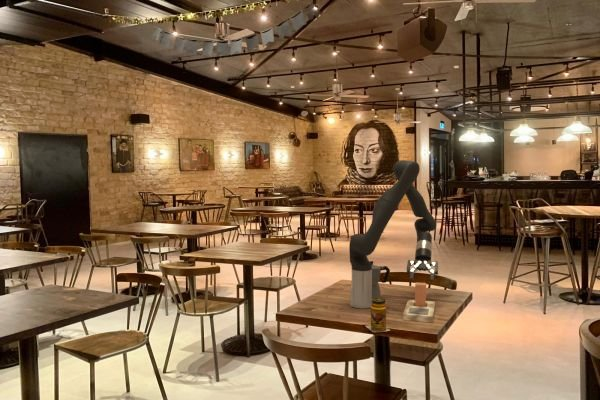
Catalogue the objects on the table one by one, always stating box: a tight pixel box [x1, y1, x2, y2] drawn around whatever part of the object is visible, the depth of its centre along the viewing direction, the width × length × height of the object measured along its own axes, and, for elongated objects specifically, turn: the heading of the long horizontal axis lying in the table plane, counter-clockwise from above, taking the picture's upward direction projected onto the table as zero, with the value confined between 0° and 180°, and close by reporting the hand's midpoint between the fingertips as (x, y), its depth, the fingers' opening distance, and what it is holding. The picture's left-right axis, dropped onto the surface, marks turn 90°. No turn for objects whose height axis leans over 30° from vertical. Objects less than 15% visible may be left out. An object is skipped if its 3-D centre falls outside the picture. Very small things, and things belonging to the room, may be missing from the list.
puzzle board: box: [402, 299, 436, 323], centre depth 226 cm, size 12×24×3 cm, turn 163°
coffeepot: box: [369, 260, 391, 300], centre depth 252 cm, size 15×9×18 cm, turn 82°
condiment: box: [365, 298, 391, 333], centre depth 205 cm, size 7×8×12 cm
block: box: [414, 281, 427, 307], centre depth 230 cm, size 4×4×12 cm
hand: (421, 280), depth 236 cm, fingers open, 8 cm apart
